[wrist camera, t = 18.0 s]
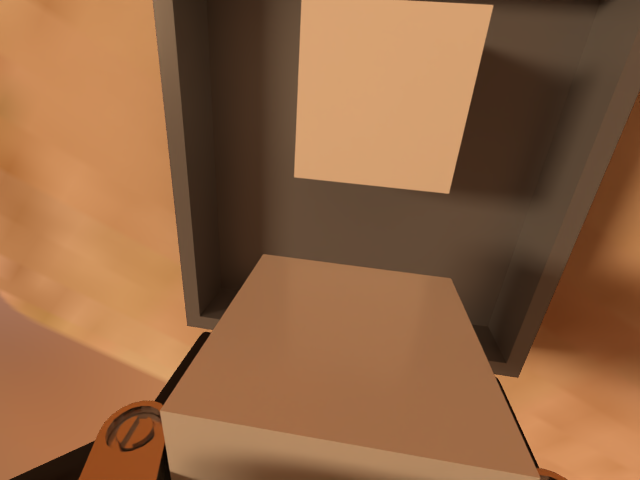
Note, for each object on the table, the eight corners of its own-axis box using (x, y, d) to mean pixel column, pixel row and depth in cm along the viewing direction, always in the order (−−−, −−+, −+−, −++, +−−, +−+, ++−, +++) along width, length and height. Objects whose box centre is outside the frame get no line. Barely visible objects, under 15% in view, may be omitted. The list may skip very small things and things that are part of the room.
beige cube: (450, 278, 10) (540, 477, 5) (414, 413, 12) (447, 647, 7) (263, 253, 10) (160, 410, 5) (262, 388, 12) (189, 589, 7)
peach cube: (451, 35, 14) (493, 5, 9) (425, 163, 17) (449, 193, 12) (324, 27, 15) (301, -6, 10) (316, 152, 17) (294, 177, 12)
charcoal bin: (618, -27, 14) (707, -71, 10) (492, 328, 21) (517, 377, 17) (196, -46, 15) (143, -89, 12) (216, 288, 23) (187, 325, 19)
